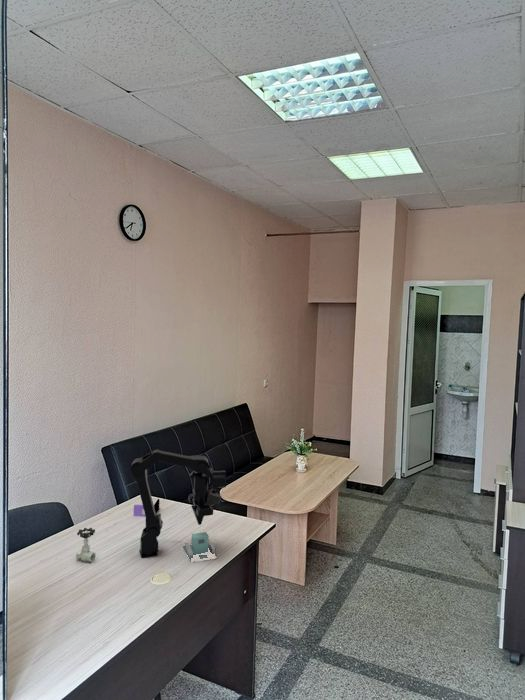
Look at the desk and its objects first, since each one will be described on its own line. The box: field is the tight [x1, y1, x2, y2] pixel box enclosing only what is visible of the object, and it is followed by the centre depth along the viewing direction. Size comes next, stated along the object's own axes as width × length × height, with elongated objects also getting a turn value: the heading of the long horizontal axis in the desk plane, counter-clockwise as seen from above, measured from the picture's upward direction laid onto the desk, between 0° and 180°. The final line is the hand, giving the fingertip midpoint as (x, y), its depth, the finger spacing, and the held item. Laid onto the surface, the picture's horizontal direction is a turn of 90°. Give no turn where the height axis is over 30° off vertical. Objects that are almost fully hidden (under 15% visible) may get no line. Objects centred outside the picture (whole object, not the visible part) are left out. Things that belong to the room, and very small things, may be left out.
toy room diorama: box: [133, 498, 160, 518], centre depth 233 cm, size 12×12×7 cm
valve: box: [75, 527, 97, 563], centre depth 186 cm, size 7×7×12 cm
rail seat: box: [182, 539, 216, 562], centre depth 195 cm, size 11×14×3 cm
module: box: [191, 531, 210, 555], centre depth 195 cm, size 6×4×7 cm
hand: (199, 524), depth 195 cm, fingers closed
